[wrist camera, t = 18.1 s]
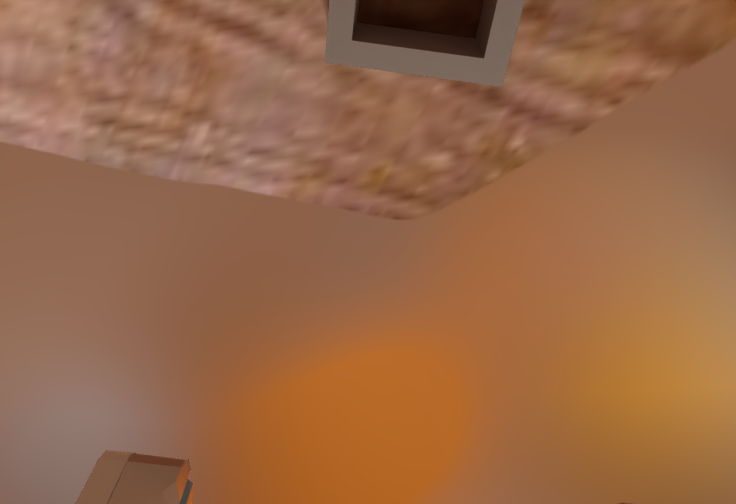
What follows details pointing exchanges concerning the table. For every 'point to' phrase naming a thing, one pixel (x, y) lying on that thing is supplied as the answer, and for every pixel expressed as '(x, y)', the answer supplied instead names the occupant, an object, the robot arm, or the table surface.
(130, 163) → the table surface
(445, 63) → the rectangular frame
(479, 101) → the table surface
